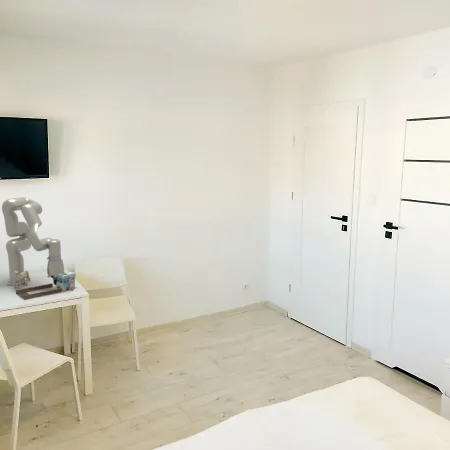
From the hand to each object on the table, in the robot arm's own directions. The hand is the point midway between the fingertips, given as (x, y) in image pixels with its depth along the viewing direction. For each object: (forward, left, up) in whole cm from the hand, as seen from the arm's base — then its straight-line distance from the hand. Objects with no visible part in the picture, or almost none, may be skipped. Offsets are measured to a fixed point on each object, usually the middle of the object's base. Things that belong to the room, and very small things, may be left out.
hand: (56, 284), depth 308 cm
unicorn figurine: (-18, -15, -4) cm, 23 cm away
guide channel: (0, -12, -4) cm, 12 cm away
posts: (0, +7, -4) cm, 8 cm away
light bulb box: (+3, +5, -4) cm, 7 cm away
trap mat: (0, -21, -4) cm, 21 cm away
